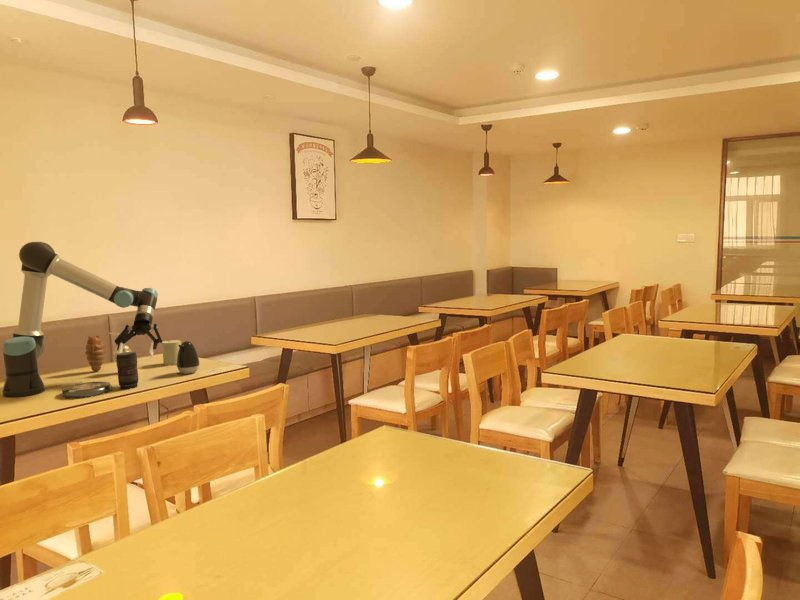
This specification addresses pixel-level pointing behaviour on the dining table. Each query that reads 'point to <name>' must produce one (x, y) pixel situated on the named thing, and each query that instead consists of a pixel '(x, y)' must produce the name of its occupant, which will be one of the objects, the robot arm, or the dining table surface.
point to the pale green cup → (170, 351)
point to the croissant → (95, 352)
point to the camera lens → (127, 370)
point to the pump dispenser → (187, 358)
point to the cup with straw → (126, 348)
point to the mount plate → (86, 389)
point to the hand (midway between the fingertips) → (135, 355)
